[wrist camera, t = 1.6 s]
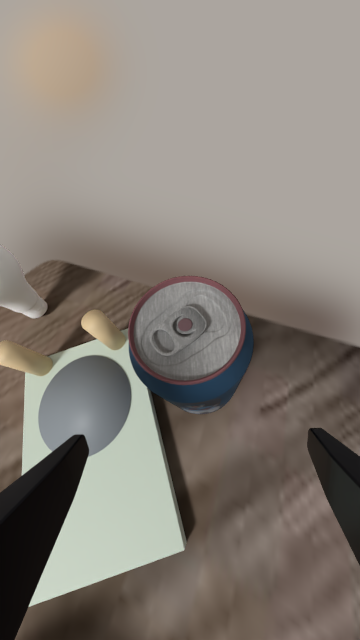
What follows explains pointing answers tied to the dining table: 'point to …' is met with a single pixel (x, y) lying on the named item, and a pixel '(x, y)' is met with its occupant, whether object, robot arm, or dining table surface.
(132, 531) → the board
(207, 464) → the dining table surface
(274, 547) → the dining table surface
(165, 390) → the soda can
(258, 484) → the dining table surface
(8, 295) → the lightbulb
